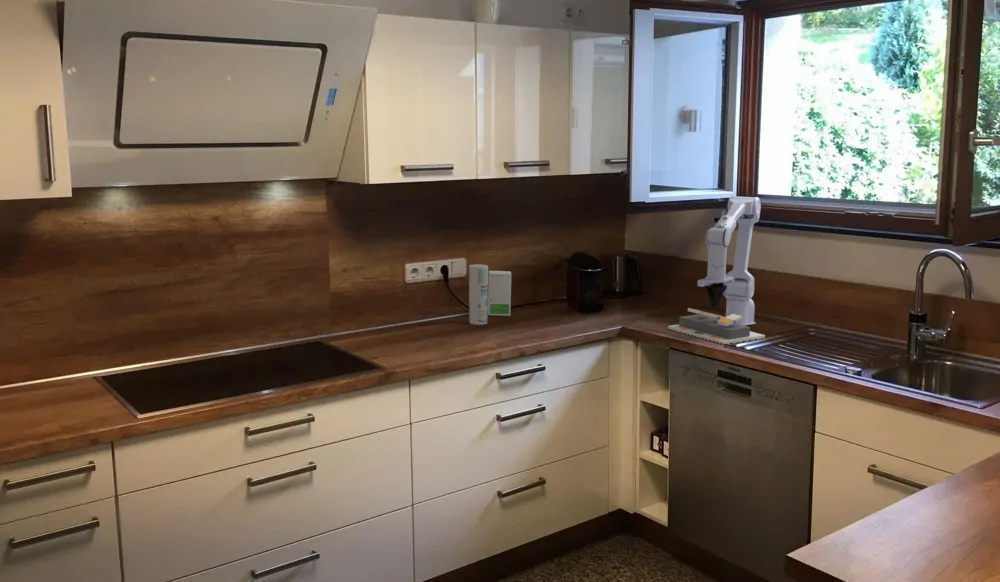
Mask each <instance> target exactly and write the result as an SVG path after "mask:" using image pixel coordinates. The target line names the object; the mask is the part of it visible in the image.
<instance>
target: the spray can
mask: <svg viewBox="0 0 1000 582" xmlns="http://www.w3.org/2000/svg"><path fill="white" fill-rule="evenodd" d="M488 280H489V266H488V265H487V264H480V263H479V264H477V263H475V264H469V266H468V286H469V287H468V300H469V301H468V302H469V303H468V306H469V307H468V311H469V314H468V317H469V319H468V321H469V324H470V325H479V326H480V325H487V324H488Z"/></svg>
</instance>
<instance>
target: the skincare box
mask: <svg viewBox="0 0 1000 582" xmlns="http://www.w3.org/2000/svg"><path fill="white" fill-rule="evenodd" d="M511 296H512V272H511V271H505V270H488V311H487V316H496V317H497V316H499V317H501V316H503V317H506V316H507V317H511V306H512V305H511V303H512V302H511V301H512V300H511V299H512V297H511Z"/></svg>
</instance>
